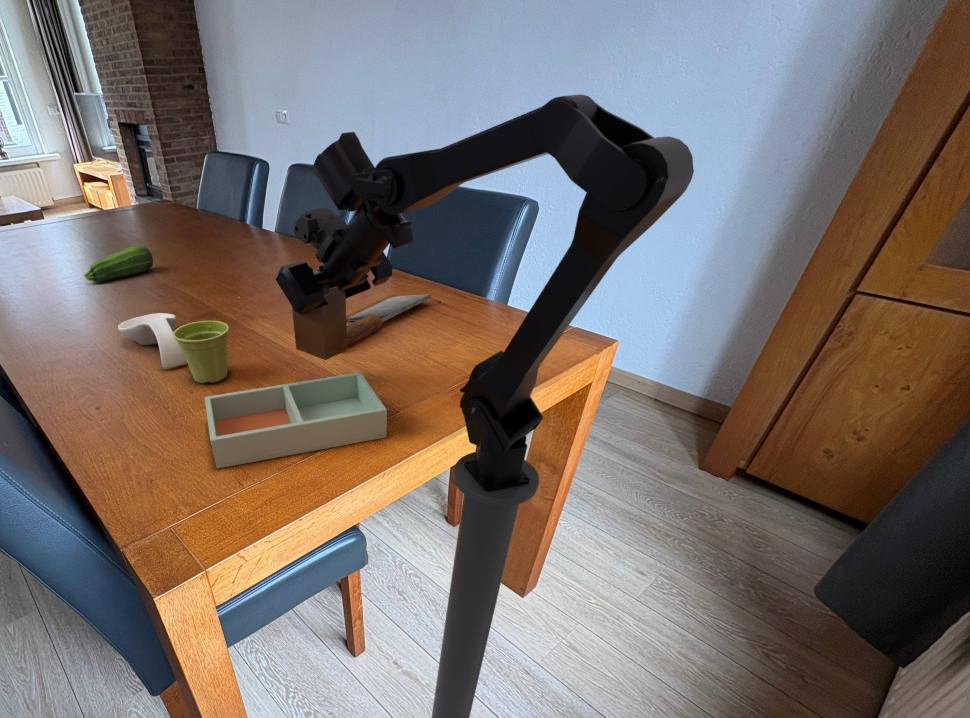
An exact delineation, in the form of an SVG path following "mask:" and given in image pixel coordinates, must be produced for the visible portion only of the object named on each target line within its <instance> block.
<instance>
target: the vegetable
mask: <svg viewBox="0 0 970 718" xmlns="http://www.w3.org/2000/svg"><path fill="white" fill-rule="evenodd" d="M153 265H154V258H153V254H152V252H151V251H150V250H149V248H147V247H145V246H143V245H132V246H129V247H127V248H124V249H122V250H120V251H117V252H115V253H113V254H111V255H108V256H106V257H104V258H102V259H99V260H98V261H95V262H94V263H92V264H91V265H90V267H89V270H88V271H86V273H85V274H83V277H84V278H85V280H87V281H88V282H95V283H98V284H104V283H107V282H110V281H112V280H115V279H120V278H123V277H124V278H125V277H130V276H137V275H140V274H143V273H146V272H147V271H149V270H151V268H152V267H153Z"/></svg>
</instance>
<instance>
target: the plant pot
mask: <svg viewBox="0 0 970 718" xmlns="http://www.w3.org/2000/svg"><path fill="white" fill-rule="evenodd" d="M229 331H230V327H229V325H228V324H227V323H226V322H223V321H220V320H219V321H218V320H201V321H194V322H189V323H186V324H183V325H181V326H179V327H178V328H176V329H174V330H173V337H174V339H176V340H177V341H178V344H179V346H180V347H181V348H182V350H183V353H184V355H185V358H186V360H187V363H186V364H187V366H188V368H189V371H190V373H191V376H192V378H193V380H194V381H195V382H197V383H199V384H205V383H212V384H214V383H217V382H220V381H222V380H224V379H225V378H227V376H228V373H229V372H228V355H227V354H228V351H227V341H228V332H229Z"/></svg>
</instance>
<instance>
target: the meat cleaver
mask: <svg viewBox="0 0 970 718" xmlns="http://www.w3.org/2000/svg"><path fill="white" fill-rule="evenodd" d="M430 299H432V294H431V293H425V294H424V293H423V294H411V295H398V296H391V297H389V298H387V299H384V300H382V301H380V302H379V303H376V304H374V305H371V306H370V307H367V308H365V309H364V310H361V311H359V312H357V313H355V314H353V315H351V316H349V317H346V322H351V323H349V324H347V346H350V345H352V344H353V343H356V342H357V341H359V340H361V339H363V338H365V337H367V336H368V335H370V334H371V333H377V332H378V331H379V329H380V327H381V325H382V323H383V322H386V321H388V320H389V319H392V318H393V317H396V316H397V315H400V314H402V313H404V312H406V311H408V310H409V309H412V308H413V307H416V306H418V305H420V304H422V303H424V302H426V301H428V300H430Z"/></svg>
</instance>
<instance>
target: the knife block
mask: <svg viewBox="0 0 970 718" xmlns="http://www.w3.org/2000/svg"><path fill="white" fill-rule="evenodd" d="M308 266H309V267H310V269H311V271H312V272H313V274H314V275H315V274H318V273H319V272H318V270H317V269H314V268H313V266H311V265H308ZM324 298H325V300H326V301H327V303H328V305H326V306H324V307H321V308H318V309H316V310H314V311H311V312H309V313H306V314H304V315H301V314H300V313H298V312H295V310H294V309H293V307H292V306H291V310H292V311H291V313H292V319H293V331H294V341H295V342H294V343H295V349H296V350H298V351H300V352H303V353H306V354H309V355H311V356H313V357H316V358H318V359H321V360H324V361H327V360H329V359H332V358H333V357H336V356H338V355H340V354H343V353H345V352H347V351H348V345H347V325H348V323H347V321H346V318H347V300H346V299H347V298H346V296H345V290H342V291H340V290H339V288H338V287H336V288H333V289H330V290H329V294H328V295H327V296H325V297H324Z"/></svg>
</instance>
